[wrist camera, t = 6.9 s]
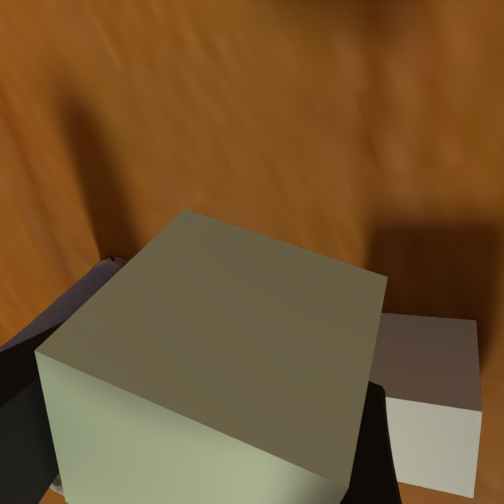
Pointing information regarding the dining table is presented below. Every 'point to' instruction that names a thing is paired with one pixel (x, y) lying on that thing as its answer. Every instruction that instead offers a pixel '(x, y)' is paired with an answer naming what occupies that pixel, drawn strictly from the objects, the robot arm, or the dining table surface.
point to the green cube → (213, 373)
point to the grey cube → (431, 398)
